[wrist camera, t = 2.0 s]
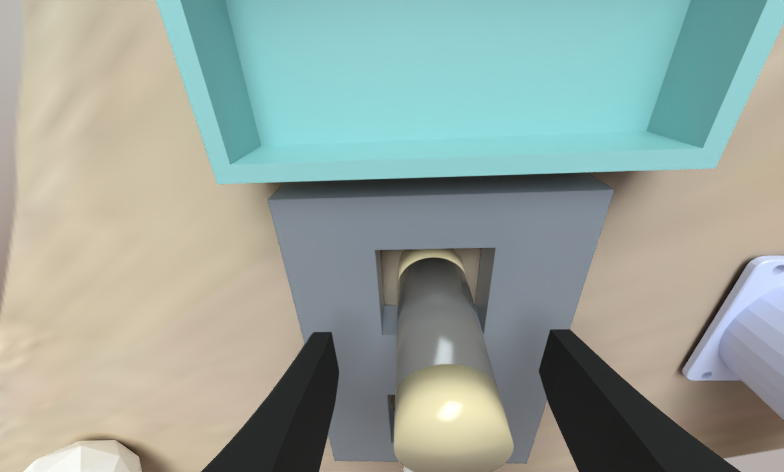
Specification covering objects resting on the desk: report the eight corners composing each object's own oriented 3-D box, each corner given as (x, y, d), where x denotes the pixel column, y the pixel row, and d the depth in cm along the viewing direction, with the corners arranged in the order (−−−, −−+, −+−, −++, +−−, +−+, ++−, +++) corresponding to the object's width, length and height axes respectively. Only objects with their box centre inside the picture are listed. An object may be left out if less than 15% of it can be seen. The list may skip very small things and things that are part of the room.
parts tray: (759, -181, 8) (934, -298, 5) (646, 143, 12) (714, 168, 9) (181, -131, 9) (85, -212, 6) (255, 157, 13) (217, 184, 10)
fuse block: (584, 171, 12) (614, 189, 11) (516, 430, 21) (526, 463, 20) (285, 180, 13) (267, 199, 11) (340, 428, 22) (334, 460, 20)
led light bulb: (464, 239, 14) (522, 415, 7) (460, 291, 16) (505, 480, 9) (397, 240, 14) (391, 414, 7) (399, 292, 16) (395, 478, 9)
